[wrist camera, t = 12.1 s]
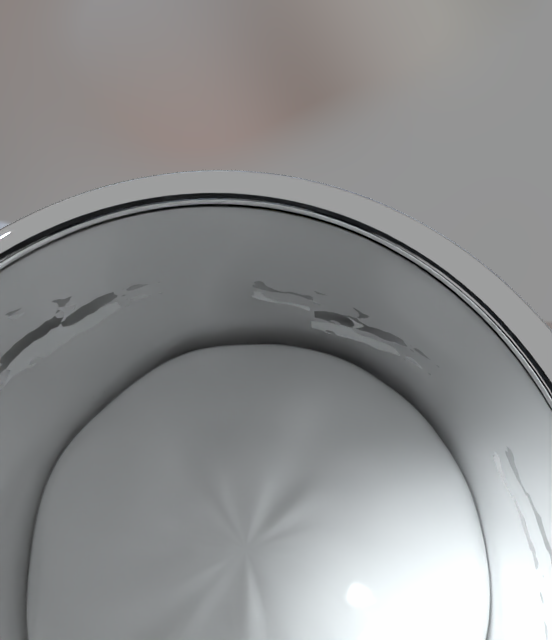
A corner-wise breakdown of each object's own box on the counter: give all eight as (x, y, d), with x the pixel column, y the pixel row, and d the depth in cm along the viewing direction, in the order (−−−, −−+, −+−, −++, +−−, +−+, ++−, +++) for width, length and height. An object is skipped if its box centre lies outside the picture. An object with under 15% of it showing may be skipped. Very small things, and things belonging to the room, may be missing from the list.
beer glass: (206, 431, 19) (-98, 137, 5) (402, 451, 18) (637, 159, 5) (169, 655, 16) (-623, 1206, 3) (397, 689, 16) (938, 1756, 2)
